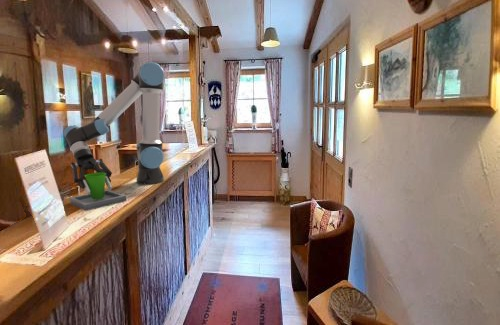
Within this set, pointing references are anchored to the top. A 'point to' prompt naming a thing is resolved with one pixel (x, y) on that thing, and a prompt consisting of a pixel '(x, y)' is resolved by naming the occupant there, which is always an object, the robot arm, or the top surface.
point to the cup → (96, 184)
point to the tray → (97, 200)
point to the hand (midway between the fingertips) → (100, 190)
